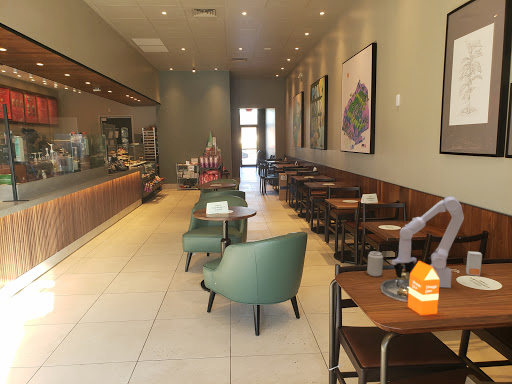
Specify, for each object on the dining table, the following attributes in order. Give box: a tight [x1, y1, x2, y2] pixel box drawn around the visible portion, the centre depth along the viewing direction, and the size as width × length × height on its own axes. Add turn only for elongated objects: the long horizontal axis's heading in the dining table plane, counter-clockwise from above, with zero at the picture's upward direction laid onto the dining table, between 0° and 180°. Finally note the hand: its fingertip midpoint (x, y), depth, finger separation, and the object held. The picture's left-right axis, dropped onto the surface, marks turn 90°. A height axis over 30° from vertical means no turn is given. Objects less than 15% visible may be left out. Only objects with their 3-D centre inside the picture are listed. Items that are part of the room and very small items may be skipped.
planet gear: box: [395, 269, 410, 280], centre depth 192 cm, size 6×6×5 cm
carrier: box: [380, 278, 409, 303], centre depth 176 cm, size 24×24×4 cm
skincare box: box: [465, 251, 483, 277], centre depth 202 cm, size 6×4×12 cm
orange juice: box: [407, 260, 440, 316], centre depth 157 cm, size 8×9×20 cm
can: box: [366, 250, 384, 277], centre depth 199 cm, size 8×8×12 cm
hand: (403, 276), depth 192 cm, fingers open, 5 cm apart
